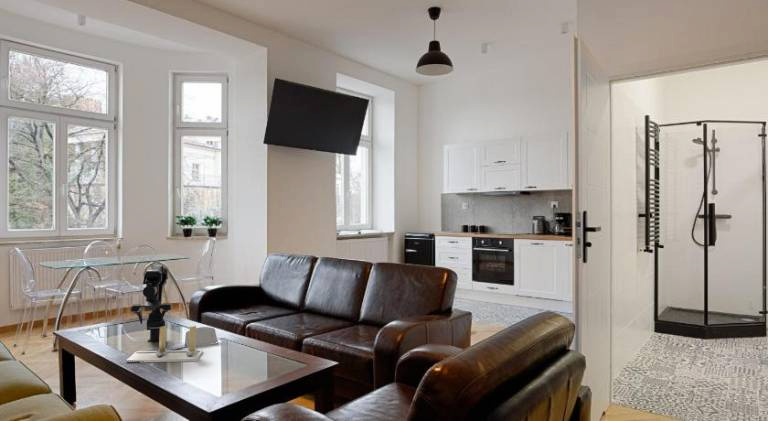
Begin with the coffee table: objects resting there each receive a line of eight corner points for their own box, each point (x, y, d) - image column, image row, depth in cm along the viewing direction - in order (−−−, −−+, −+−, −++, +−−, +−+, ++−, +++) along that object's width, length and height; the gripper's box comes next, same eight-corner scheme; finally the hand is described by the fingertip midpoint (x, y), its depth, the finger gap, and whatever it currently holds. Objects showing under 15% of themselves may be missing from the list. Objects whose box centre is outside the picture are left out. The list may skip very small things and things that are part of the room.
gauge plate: (136, 353, 234) (137, 324, 234) (202, 352, 239) (203, 323, 239) (125, 362, 220) (126, 331, 220) (196, 361, 225) (197, 330, 225)
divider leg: (158, 352, 232) (159, 325, 232) (168, 352, 233) (169, 325, 233) (154, 356, 225) (155, 329, 225) (164, 356, 226) (165, 329, 226)
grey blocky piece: (186, 347, 246) (185, 328, 249) (184, 348, 250) (183, 329, 253) (218, 343, 256) (217, 324, 259) (216, 344, 259) (215, 325, 262)
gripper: (129, 297, 232) (128, 328, 232) (170, 296, 239) (169, 326, 239) (133, 293, 243) (132, 323, 243) (172, 292, 249) (171, 321, 249)
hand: (151, 323), depth 243 cm, fingers open, 9 cm apart
